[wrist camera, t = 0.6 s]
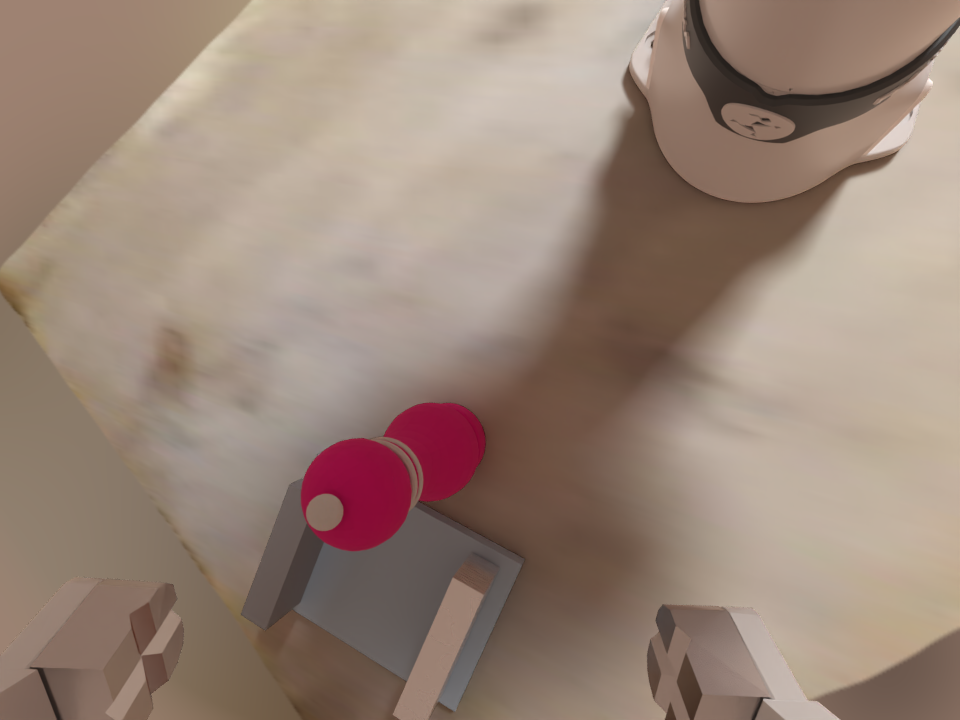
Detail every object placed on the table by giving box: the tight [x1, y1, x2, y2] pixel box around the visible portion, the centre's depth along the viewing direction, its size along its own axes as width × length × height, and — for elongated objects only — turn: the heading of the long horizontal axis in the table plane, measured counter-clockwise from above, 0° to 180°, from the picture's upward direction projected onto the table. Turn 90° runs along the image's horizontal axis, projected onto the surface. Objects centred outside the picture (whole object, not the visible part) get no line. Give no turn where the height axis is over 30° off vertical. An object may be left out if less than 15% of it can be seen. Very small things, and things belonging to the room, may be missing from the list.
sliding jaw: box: [393, 552, 500, 720], centre depth 42 cm, size 12×2×5 cm, turn 157°
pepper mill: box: [301, 403, 486, 551], centre depth 36 cm, size 7×7×20 cm
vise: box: [241, 453, 525, 712], centre depth 45 cm, size 14×20×6 cm
